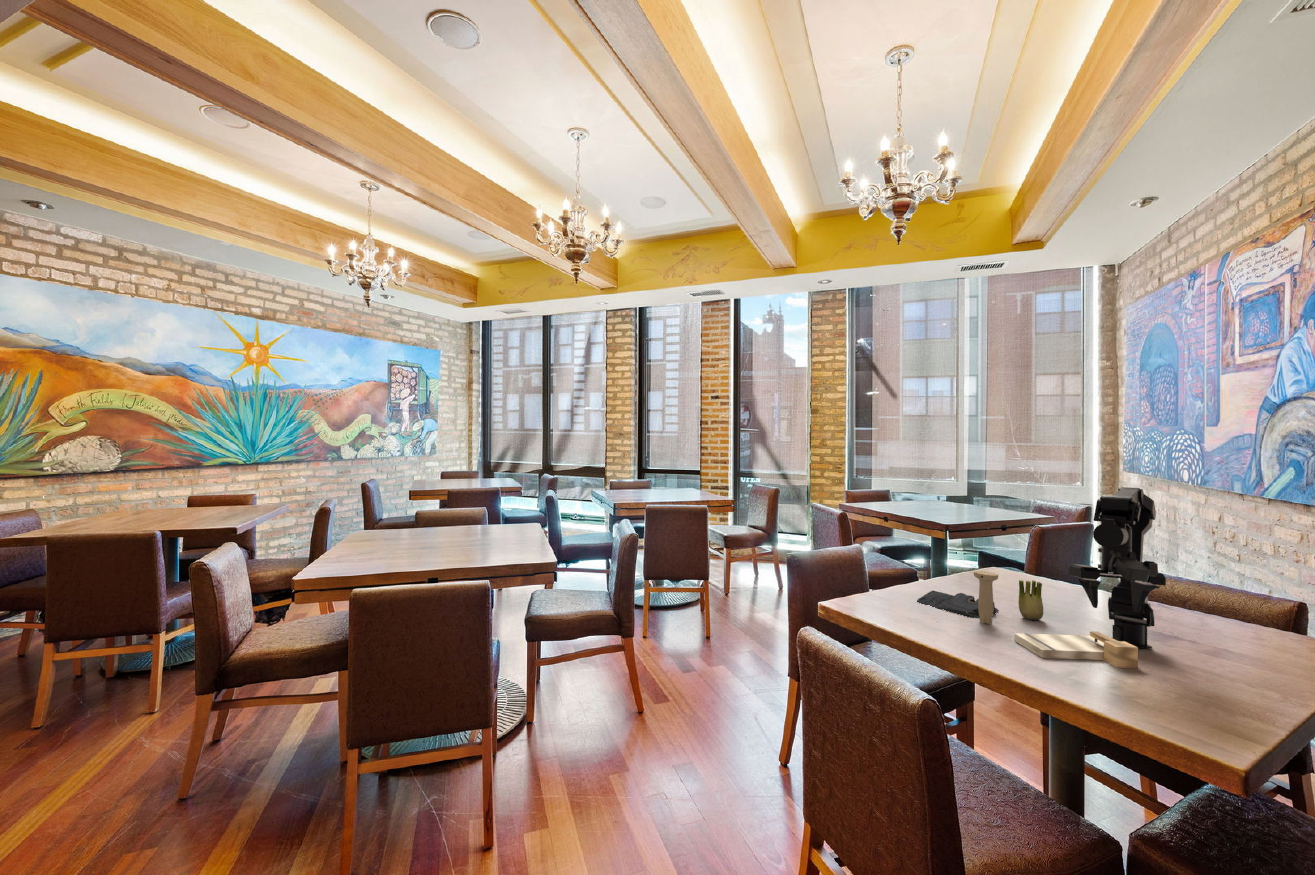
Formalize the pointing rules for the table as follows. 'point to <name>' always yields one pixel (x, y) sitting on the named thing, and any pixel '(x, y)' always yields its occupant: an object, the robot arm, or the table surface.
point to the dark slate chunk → (953, 603)
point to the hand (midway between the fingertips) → (1115, 609)
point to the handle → (985, 595)
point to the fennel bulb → (1030, 600)
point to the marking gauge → (1117, 651)
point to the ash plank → (1062, 646)
